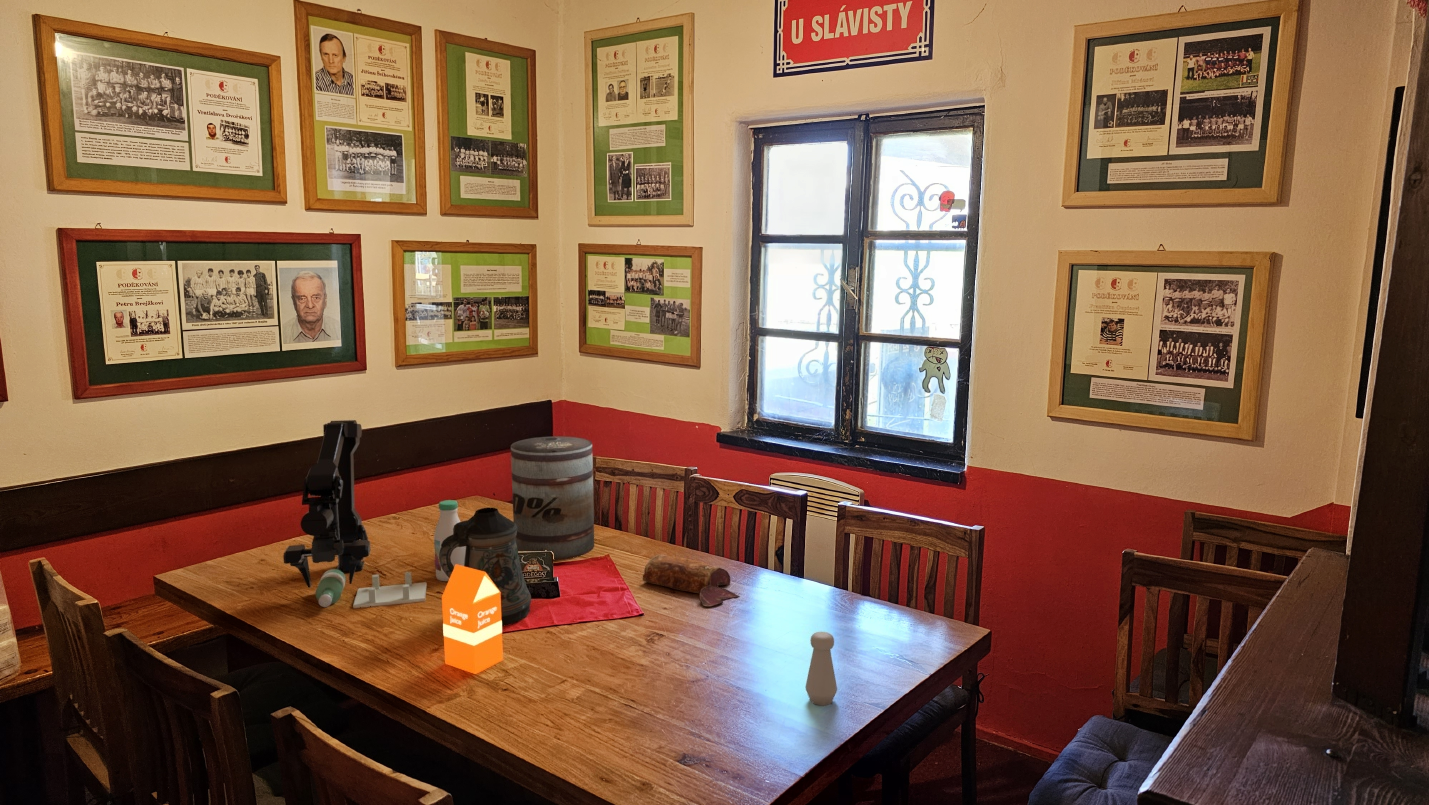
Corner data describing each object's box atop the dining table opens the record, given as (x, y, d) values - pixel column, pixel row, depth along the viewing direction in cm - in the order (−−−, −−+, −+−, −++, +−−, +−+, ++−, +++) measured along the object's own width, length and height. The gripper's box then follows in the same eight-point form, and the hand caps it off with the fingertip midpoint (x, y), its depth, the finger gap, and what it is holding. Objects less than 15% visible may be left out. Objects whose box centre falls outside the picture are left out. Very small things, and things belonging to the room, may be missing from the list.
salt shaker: (803, 693, 167) (804, 628, 165) (832, 692, 168) (834, 627, 165) (808, 708, 161) (810, 641, 159) (839, 707, 162) (841, 640, 160)
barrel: (501, 544, 254) (497, 442, 249) (571, 530, 267) (568, 433, 263) (535, 566, 236) (532, 456, 231) (608, 549, 250) (606, 446, 245)
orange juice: (475, 674, 174) (470, 577, 171) (444, 663, 179) (439, 569, 176) (503, 659, 181) (500, 566, 178) (473, 649, 186) (469, 558, 182)
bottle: (321, 591, 217) (321, 569, 217) (346, 590, 219) (345, 568, 218) (311, 613, 204) (311, 590, 203) (338, 612, 206) (338, 588, 205)
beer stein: (545, 607, 208) (542, 504, 204) (492, 639, 191) (487, 527, 187) (489, 596, 215) (485, 496, 211) (433, 625, 198) (427, 518, 194)
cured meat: (716, 612, 206) (717, 583, 205) (631, 590, 220) (631, 564, 219) (755, 589, 221) (755, 563, 220) (673, 571, 235) (673, 546, 234)
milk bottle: (471, 572, 232) (468, 498, 228) (460, 582, 224) (456, 506, 221) (443, 571, 232) (439, 497, 229) (431, 581, 225) (427, 505, 222)
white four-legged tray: (353, 608, 207) (352, 592, 207) (358, 591, 218) (357, 576, 217) (424, 601, 212) (424, 585, 211) (426, 585, 222) (425, 570, 222)
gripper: (276, 536, 201) (281, 601, 203) (363, 529, 206) (368, 593, 208) (285, 522, 211) (290, 584, 214) (368, 516, 216) (372, 577, 219)
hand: (330, 585), depth 214 cm, fingers open, 9 cm apart
